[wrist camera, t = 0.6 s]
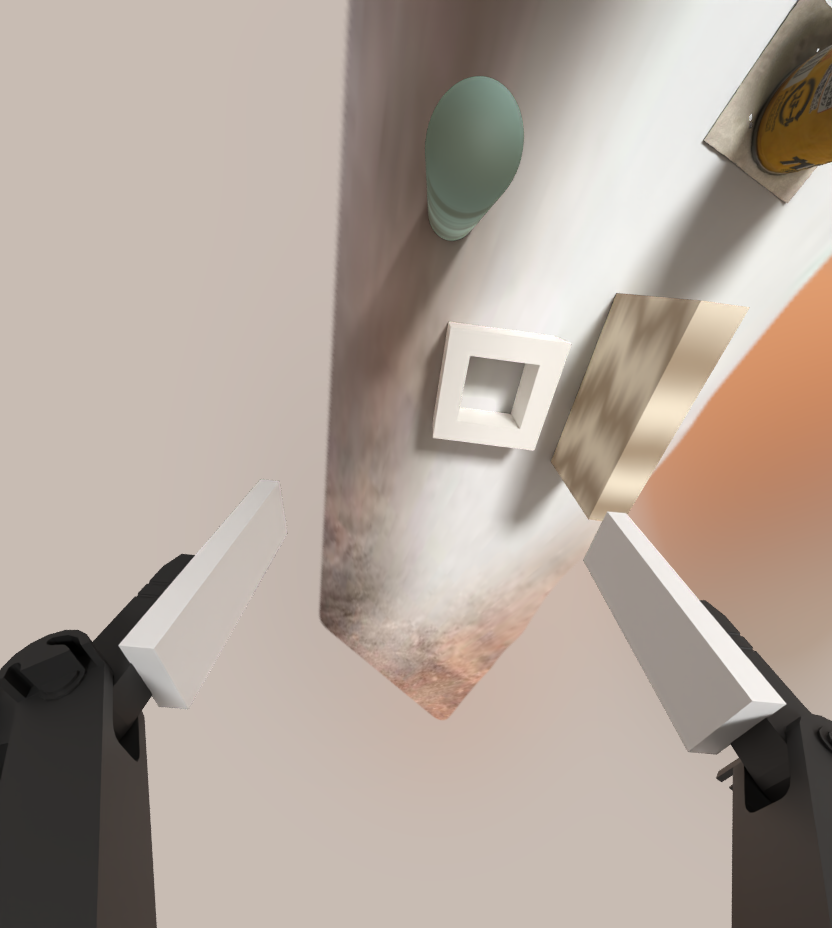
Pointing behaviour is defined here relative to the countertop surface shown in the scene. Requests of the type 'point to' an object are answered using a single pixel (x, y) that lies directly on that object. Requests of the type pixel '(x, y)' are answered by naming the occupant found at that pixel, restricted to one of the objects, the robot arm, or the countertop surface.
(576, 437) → the wall
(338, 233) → the countertop surface
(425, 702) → the countertop surface
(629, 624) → the robot arm
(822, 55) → the condiment
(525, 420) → the socket block
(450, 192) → the dowel
